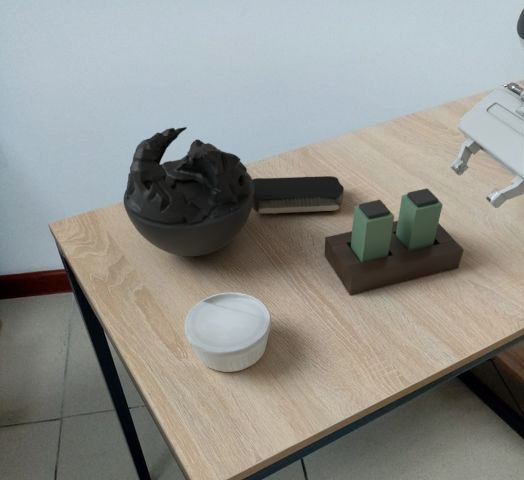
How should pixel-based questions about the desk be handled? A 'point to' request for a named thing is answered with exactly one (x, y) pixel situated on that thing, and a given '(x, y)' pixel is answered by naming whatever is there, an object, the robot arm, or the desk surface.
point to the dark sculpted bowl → (187, 196)
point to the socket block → (391, 261)
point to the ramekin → (228, 330)
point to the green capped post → (418, 219)
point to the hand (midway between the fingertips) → (471, 186)
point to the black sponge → (297, 194)
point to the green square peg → (371, 231)
